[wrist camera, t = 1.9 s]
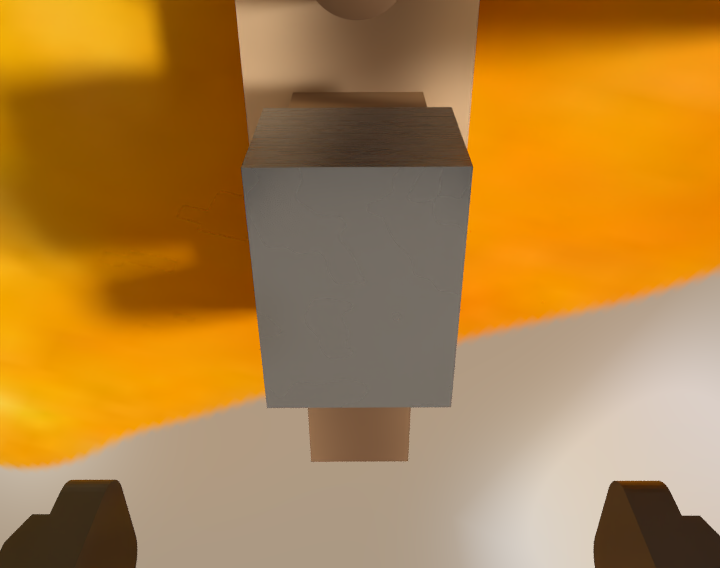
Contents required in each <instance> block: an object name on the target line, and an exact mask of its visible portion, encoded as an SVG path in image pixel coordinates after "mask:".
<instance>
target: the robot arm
mask: <svg viewBox="0 0 720 568" xmlns="http://www.w3.org/2000/svg"><path fill="white" fill-rule="evenodd" d="M136 561H137V540H136V535H135V532H134V528H133V525H132V521H131V518H130V514H129V511H128V508H127V504H126V501H125V497H124V494H123V491H122V487H121V484H120V483H119V481H117V480H70V481H68V482H67V483H66V484H65V485H64V487H63V488H62V490H61V492H60V494H59V496H58V498H57V500H56V502H55V504H54V507H53V509H52V511H51V513H50V514H45V515H44V514H41V515H40V514H33V515H31V516H30V517H29V518H28V519H27V520H26V521H25V522H24V523H23V525H21V526H20V527H19V528H18V529H17V530H16V531H15V532H14V533H13V534H12V535H11V536H10V537H9V538H8V540H6V542H5V543H4V544H3V546H2V549H1V550H0V568H136ZM594 563H595V568H720V536H719V535H718V534H717V533H716V532H715V531H714V530H713V529H712V528H711V527H710V526H709V525H708V524H707V523H706V522H705V521H704V520H703V518H702V517H700V516H682V515H681V514H680V511H679V509H678V507H677V505H676V503H675V501H674V499H673V497H672V495H671V493H670V491H669V489H668V487H667V486H666V485H665V484H664V483H663V482H661V481H613V482H612V483H611V484H610V487H609V490H608V493H607V496H606V500H605V504H604V507H603V511H602V514H601V518H600V521H599V525H598V529H597V532H596V535H595V540H594Z"/></svg>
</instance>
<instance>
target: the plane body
mask: <svg viewBox="0 0 720 568" xmlns="http://www.w3.org/2000/svg"><path fill="white" fill-rule="evenodd" d="M479 3H480V0H235V6H236V16H237V26H238V36H239V46H240V56H241V66H242V76H243V86H244V96H245V106H246V117H247V127H248V137H249V145H250V143H251V140H252V137H253V135H254V132H255V129H256V127H257V124H258V121H259V119H260V116H261V113H262V111H263V108H360V107H452V109H453V112H454V115H455V118H456V120H457V123H458V126H459V129H460V132H461V134H462V137H463V140H464V143H465V146H466V148H467V144H468V132H469V120H470V109H471V97H472V85H473V74H474V62H475V50H476V38H477V27H478V15H479ZM410 408H411V407H368V408H308V417H309V433H310V448H311V461H312V462H315V461H316V462H317V461H318V462H330V461H408V450H409V430H410Z"/></svg>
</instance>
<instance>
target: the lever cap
mask: <svg viewBox="0 0 720 568" xmlns="http://www.w3.org/2000/svg"><path fill="white" fill-rule="evenodd" d="M241 172H242V181H243V190H244V199H245V209H246V218H247V227H248V236H249V245H250V255H251V264H252V273H253V282H254V291H255V301H256V310H257V319H258V328H259V337H260V347H261V356H262V365H263V374H264V384H265V393H266V402H267V408H368V407H451V399H452V389H453V378H454V367H455V357H456V346H457V335H458V324H459V313H460V302H461V291H462V281H463V270H464V259H465V248H466V237H467V226H468V215H469V204H470V193H471V182H472V172H473V165H472V162H471V160H470V157H469V154H468V151H467V148H466V146H465V143H464V140H463V137H462V134H461V132H460V129H459V126H458V123H457V120H456V118H455V115H454V112H453V109H452V107H360V108H263V111H262V113H261V116H260V119H259V121H258V124H257V127H256V129H255V132H254V135H253V137H252V140H251V143H250V145H249V148H248V151H247V153H246V156H245V159H244V161H243V164H242V167H241Z"/></svg>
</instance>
